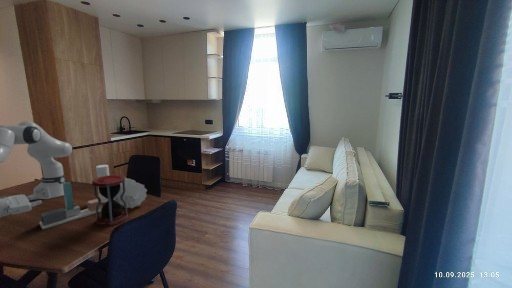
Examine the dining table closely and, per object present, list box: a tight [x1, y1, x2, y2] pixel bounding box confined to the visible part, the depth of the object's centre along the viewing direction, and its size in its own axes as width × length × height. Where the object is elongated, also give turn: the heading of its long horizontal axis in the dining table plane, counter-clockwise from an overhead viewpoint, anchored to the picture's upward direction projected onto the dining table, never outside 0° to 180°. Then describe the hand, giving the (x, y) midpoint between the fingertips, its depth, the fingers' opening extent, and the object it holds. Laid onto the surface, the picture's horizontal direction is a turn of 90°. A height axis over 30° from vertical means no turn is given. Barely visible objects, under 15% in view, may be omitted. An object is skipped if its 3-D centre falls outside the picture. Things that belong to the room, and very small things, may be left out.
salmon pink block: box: [87, 198, 103, 212], centre depth 149 cm, size 6×5×5 cm
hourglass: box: [91, 174, 129, 227], centre depth 138 cm, size 16×16×25 cm
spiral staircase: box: [113, 176, 148, 209], centre depth 159 cm, size 18×18×25 cm
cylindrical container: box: [95, 164, 110, 204], centre depth 163 cm, size 7×7×25 cm
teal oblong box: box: [63, 181, 81, 217], centre depth 136 cm, size 16×4×20 cm, turn 141°
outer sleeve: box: [40, 207, 67, 226], centre depth 134 cm, size 10×5×5 cm, turn 141°
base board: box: [39, 208, 101, 230], centre depth 142 cm, size 30×8×1 cm, turn 141°
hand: (39, 199), depth 128 cm, fingers open, 8 cm apart
